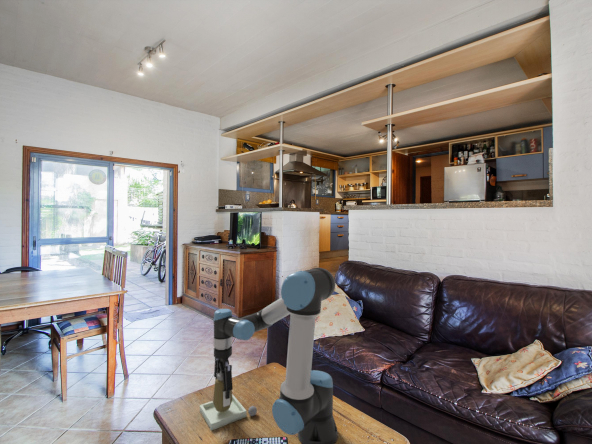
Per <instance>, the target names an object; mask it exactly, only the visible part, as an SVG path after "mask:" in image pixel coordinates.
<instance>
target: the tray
mask: <svg viewBox="0 0 592 444" xmlns="http://www.w3.org/2000/svg"><path fill="white" fill-rule="evenodd" d="M199 413H200V414H201V415H202V418H203V419H204V421H205V423H206V424H207V425H208V428H209V429H210V431H211V432H212V431H213V430H216V429H219V428H221V427H224V426H226V425H228V424H229V425H230V424H232V423H234V422H236V421H239V420H242V419H245V418H247V414H248V410H247V409H246V408H245V407H244V406H243V405H242V403H241V402H240V401H239V400H238V398H237V397H236V396H235V395H234V394H233V393H232V402H231V405H230V408H229V409H228V410H227V411H224V412H218V411H216V409H215V406H214V403H213V400H211V401H209V402H205V403H202V404H199Z"/></svg>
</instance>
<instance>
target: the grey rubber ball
mask: <svg viewBox="0 0 592 444" xmlns="http://www.w3.org/2000/svg"><path fill="white" fill-rule="evenodd" d="M257 412H258V411H257V407H256V406H254V405H250V406H249V407H248V410H247V414H248V415H249V416H250V417H253V416H256V414H257Z"/></svg>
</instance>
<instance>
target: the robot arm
mask: <svg viewBox="0 0 592 444" xmlns="http://www.w3.org/2000/svg"><path fill="white" fill-rule="evenodd" d="M335 289H336V280H335V276H334V275H333V274H332V273H331V272H330V271H329V270H327V269H326V268H323V267H314V268H310V269H305V270H299V271H296V272H294V273H293V272H292V273H290V274H289V275H287V277H286V278H284V280H283V281H282V284H281V288H280V294H281V295H280V296H281V297H280V298H278V299H277V300H275V301H273V302H271V304H269V305H266V307H264V308H262V309H261V310H259V311H258V312H255V313H252V314H248V315H245V316H242V317H235V316H233V312H232V310H231V309H230V308H220V309H217V310H215V311H214V314H213V357H214V370H213V377H214V379H215V380H216V379H217V374H218V373H220V370H221V373H222V376H223V384H224V390H223V406H224V407H225V406H228V405H230V391H231V390H232V391H233V389H234V388H233V373H232V370H233V365H232V364H230V360H229V358H231V356H232V354H233V346H232V345H233V339H234V338H235V339H237V340H241V341H248V340H250V339H251V338H252V337H253V336H254V334H255V333H257V332H260V331H263V330H264V329H267V328H269V327H271V326H273V324H275V323H277V322H278V321H281V320H282V319H284V318H285V317H287V316H289V315H290V317H289V330H288V343H287V355H286V368H285V369H286V370H285V380H284V381H282V382H281V385H280V386H279V387H280V389H279V398H277V399H276V400H274V402H273V404H272V408H271V412H272V413H271V414H272V417H273V420H274V422H275V423H276V425H277V426H278V428H279V429H280V430H281V431H282V432H283V433H285V434H287V435H290V436H295V435H297V438H298V440H299V442H300V443H301V444H335V443H336V442H337V441H338V427H337V424H336V421H335V417H334V411H333V410H334V409H333V408H334V407H333V406H334V405H333V403H334V392H333V391H334V384H333V378H332V376H331V375H330V374H329V373H327V372H325V371H322V370H317V369H316V370H314V369H313V370H312V364H313V352H314V351H313V350H314V339H315V328H316V317H317V316H319V315H320V314H321V309H322V301H325V300H327V299H328V298H330V297H331V296H332V295H333V294H334V292H335ZM223 370H225V371H223ZM215 380H214V381H215Z"/></svg>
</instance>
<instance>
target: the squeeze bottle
mask: <svg viewBox="0 0 592 444" xmlns="http://www.w3.org/2000/svg"><path fill="white" fill-rule="evenodd" d="M223 371H225V370H223ZM223 390H224V384H223V376H222V373H221V370H220V373H218V374H217V379H216V380H214V388H213V397H212V398H213V399H212V401H213V403H214V406H215V409H216V411H218V412H224V411H227V410H228V409H229V408H230V405H231V402H232V394H233V390H231V391H230V405H228V406H225V407H224V406H223Z"/></svg>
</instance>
